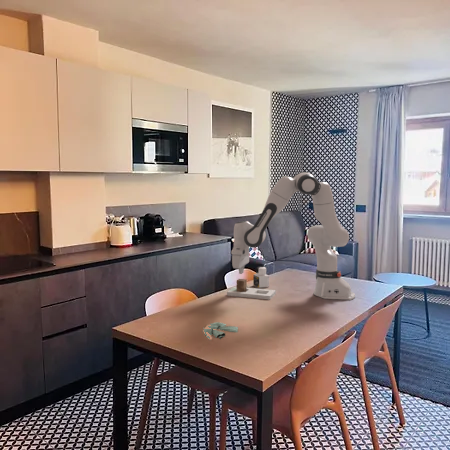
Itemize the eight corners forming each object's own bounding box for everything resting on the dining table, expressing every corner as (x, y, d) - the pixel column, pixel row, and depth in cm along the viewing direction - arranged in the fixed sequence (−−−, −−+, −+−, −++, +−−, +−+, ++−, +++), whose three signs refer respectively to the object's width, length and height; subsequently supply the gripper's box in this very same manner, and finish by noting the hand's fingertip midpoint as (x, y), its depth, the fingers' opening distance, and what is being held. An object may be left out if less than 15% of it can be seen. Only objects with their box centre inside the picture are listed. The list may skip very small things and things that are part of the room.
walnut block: (246, 293, 242) (246, 279, 241) (244, 295, 238) (244, 281, 237) (239, 292, 244) (239, 278, 243) (236, 294, 240) (236, 280, 239)
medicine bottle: (253, 285, 259) (253, 266, 258) (263, 284, 262) (263, 265, 261) (258, 288, 253) (258, 268, 251) (269, 286, 256) (269, 267, 254)
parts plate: (275, 293, 240) (275, 290, 240) (270, 299, 228) (270, 296, 228) (234, 289, 249) (234, 286, 249) (226, 295, 237) (226, 292, 237)
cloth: (216, 321, 195) (216, 316, 195) (255, 332, 181) (255, 327, 181) (185, 334, 180) (185, 329, 179) (225, 347, 166) (225, 341, 165)
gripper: (241, 246, 249) (241, 269, 250) (230, 251, 230) (230, 276, 231) (252, 247, 247) (251, 270, 248) (241, 252, 228) (241, 277, 229)
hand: (241, 273), depth 239 cm, fingers closed
